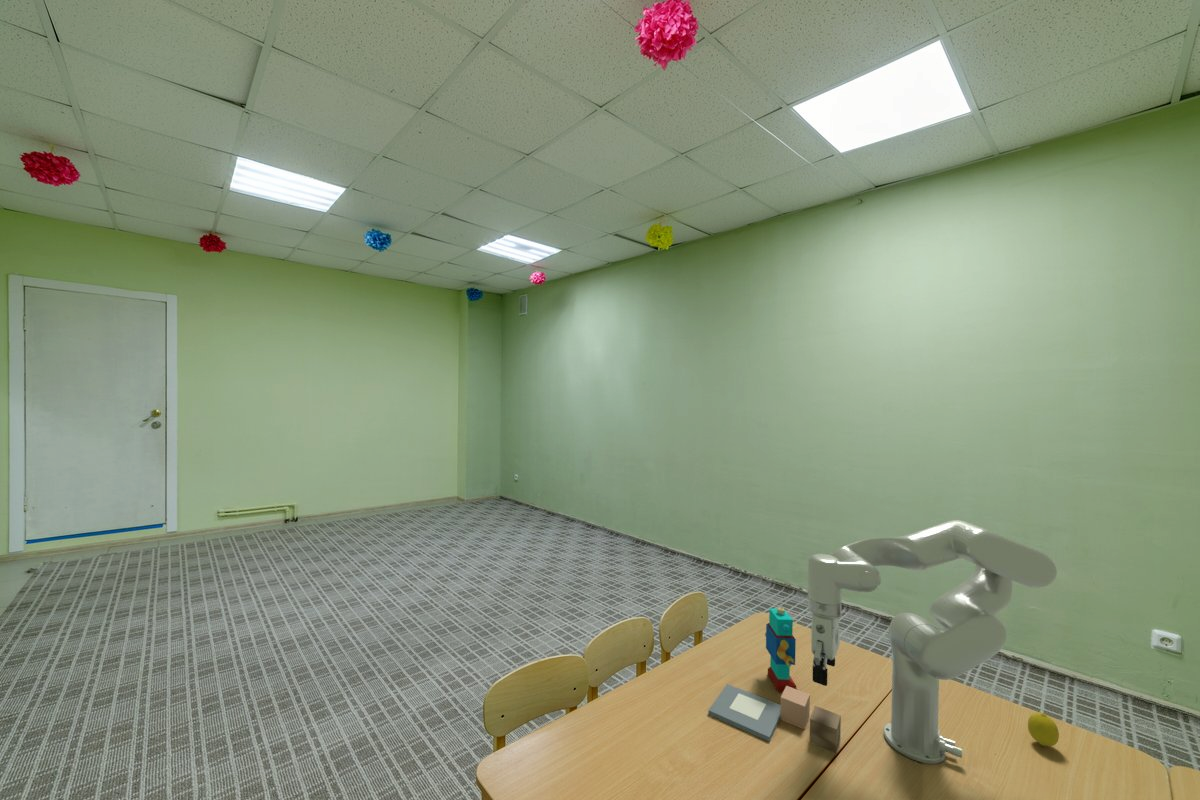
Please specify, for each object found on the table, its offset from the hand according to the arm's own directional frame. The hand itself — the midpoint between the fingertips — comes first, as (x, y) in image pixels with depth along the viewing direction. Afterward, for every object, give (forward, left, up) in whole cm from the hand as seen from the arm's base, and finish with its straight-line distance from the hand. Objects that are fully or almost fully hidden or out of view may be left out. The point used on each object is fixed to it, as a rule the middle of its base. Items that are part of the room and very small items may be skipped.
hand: (824, 673), depth 114 cm
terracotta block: (+7, -4, -17) cm, 18 cm away
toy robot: (+14, -17, -17) cm, 28 cm away
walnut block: (-1, 0, -17) cm, 17 cm away
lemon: (-45, -31, -17) cm, 57 cm away
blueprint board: (+18, +2, -16) cm, 25 cm away
